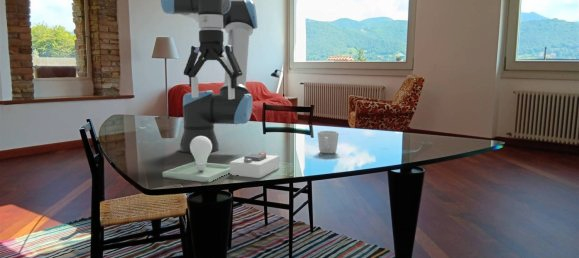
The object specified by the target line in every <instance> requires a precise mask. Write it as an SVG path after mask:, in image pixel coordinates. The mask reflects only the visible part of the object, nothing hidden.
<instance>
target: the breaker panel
mask: <svg viewBox="0 0 579 258" xmlns="http://www.w3.org/2000/svg"><path fill="white" fill-rule="evenodd" d="M250 154H251V153H249V154H248V155H250ZM258 154H263V155H266V159H264V160H261V161H252V159H249V158H247V159H244V156H241V157H239V158H236V159H233V160H232V161H229V165H230V174H232V175H231V176H236V175H239V176H238V177H244V178H245V177H248V178H255V179H260V178H263V177H265V176H267V175H268V174H270V173H273V172H274V171H277V170H278V169H280V155H270V154H267V153H266V152H259V153H258Z"/></svg>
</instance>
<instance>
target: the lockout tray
mask: <svg viewBox="0 0 579 258" xmlns="http://www.w3.org/2000/svg"><path fill="white" fill-rule="evenodd" d="M196 165H197V164H196V163H195V161H192V162H189V163H186V164H183V165H180V166H177V167H174V168H170V169H168V170H165V171H162V178H166V179H167V178H168V179H175V180H176V179H177V180H185V181H192V182H193V181H194V182H200V183H211V182H213V180H214V181H216V180H217V178H218V179H220V178H219V177H221V176H223V177H225V176H227V175H229V174H228V173H230V164H222V163H212V162H207V163H206V170H204V171H202V172H200V171H198V170H197V169H196ZM226 174H227V175H226ZM224 175H225V176H224ZM221 178H222V177H221ZM215 179H216V180H215Z"/></svg>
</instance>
